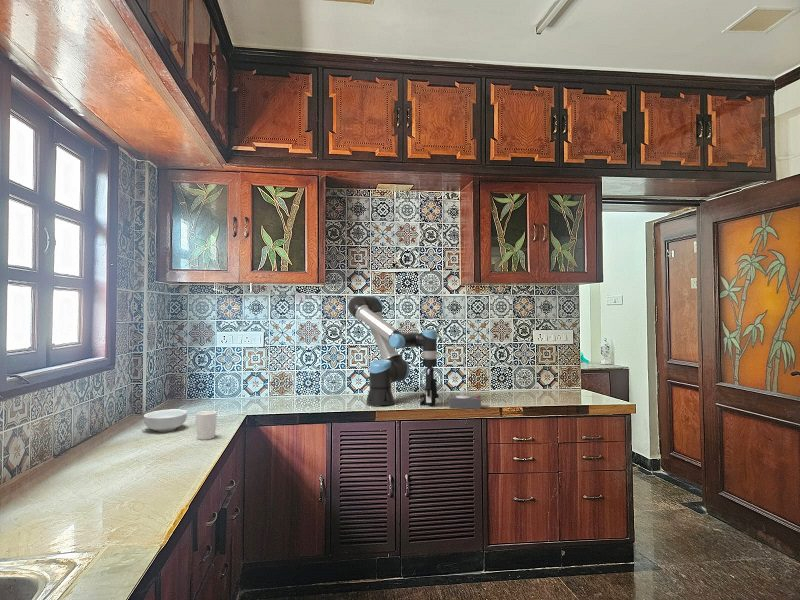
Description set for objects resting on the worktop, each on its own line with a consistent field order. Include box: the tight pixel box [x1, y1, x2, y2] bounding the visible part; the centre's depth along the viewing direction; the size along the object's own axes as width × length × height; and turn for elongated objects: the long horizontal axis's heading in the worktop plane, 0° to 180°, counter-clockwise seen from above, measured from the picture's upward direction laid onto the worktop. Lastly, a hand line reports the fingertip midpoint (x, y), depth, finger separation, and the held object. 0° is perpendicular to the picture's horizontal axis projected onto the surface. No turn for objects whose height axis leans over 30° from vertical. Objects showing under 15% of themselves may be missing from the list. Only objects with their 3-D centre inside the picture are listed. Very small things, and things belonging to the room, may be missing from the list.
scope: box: [418, 378, 439, 407], centre depth 264 cm, size 8×14×10 cm
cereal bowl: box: [143, 408, 188, 433], centre depth 212 cm, size 17×17×7 cm
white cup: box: [195, 410, 218, 441], centre depth 199 cm, size 8×8×10 cm
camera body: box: [449, 394, 482, 410], centre depth 260 cm, size 16×8×6 cm, turn 79°
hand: (429, 400), depth 264 cm, fingers closed on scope, 8 cm apart
